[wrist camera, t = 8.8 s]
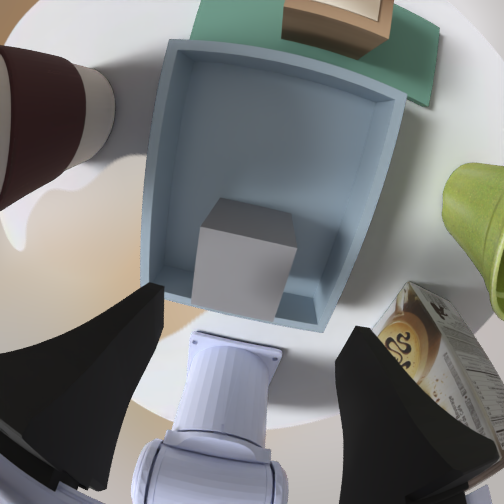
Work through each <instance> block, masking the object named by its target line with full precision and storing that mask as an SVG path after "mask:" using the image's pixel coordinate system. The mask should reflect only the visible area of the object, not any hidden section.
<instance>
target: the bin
mask: <svg viewBox="0 0 504 504" xmlns="http://www.w3.org/2000/svg"><path fill="white" fill-rule="evenodd" d="M406 99H407V94H406V93H404V92H402V91H400V90H397V89H395V88H393V87H391V86H388V85H386V84H384V83H381V82H379V81H376V80H374V79H371V78H369V77H366V76H364V75H361V74H358V73H356V72H353V71H350V70H347V69H344V68H341V67H338V66H335V65H332V64H328V63H325V62H322V61H318V60H315V59H311V58H307V57H303V56H299V55H295V54H291V53H287V52H282V51H277V50H272V49H267V48H261V47H255V46H249V45H242V44H234V43H226V42H216V41H203V40H182V39H169V42H168V46H167V50H166V54H165V58H164V62H163V66H162V71H161V75H160V80H159V85H158V90H157V95H156V100H155V105H154V111H153V117H152V123H151V130H150V137H149V144H148V152H147V160H146V169H145V179H144V191H143V204H142V222H141V251H140V252H141V253H140V255H141V256H140V285H141V287H142V286H144V285H145V284H147V283H149V282H151V283H155V284H158V285H162V286H165V288H164V299H166V300H169V301H173V302H177V303H181V304H185V305H189V306H193V307H197V308H201V309H205V310H209V311H213V312H218V313H222V314H226V315H231V316H235V317H240V318H245V319H249V320H254V321H259V322H264V323H269V324H274V325H280V326H285V327H290V328H296V329H302V330H307V331H313V332H319V333H323V332H324V330H325V328H326V326H327V324H328V322H329V320H330V318H331V315H332V313H333V311H334V309H335V307H336V305H337V303H338V300H339V298H340V296H341V294H342V292H343V289H344V287H345V285H346V283H347V280H348V278H349V276H350V273H351V271H352V268H353V266H354V264H355V261H356V259H357V256H358V254H359V251H360V249H361V246H362V244H363V241H364V239H365V236H366V233H367V231H368V228H369V225H370V222H371V220H372V217H373V214H374V211H375V208H376V206H377V203H378V200H379V197H380V194H381V191H382V188H383V184H384V181H385V178H386V175H387V172H388V168H389V165H390V162H391V158H392V155H393V151H394V148H395V144H396V140H397V136H398V133H399V129H400V125H401V121H402V116H403V112H404V108H405V103H406ZM219 198H225V199H230V200H235V201H239V202H244V203H248V204H253V205H257V206H262V207H266V208H270V209H275V210H279V211H283V212H287V213H291V214H292V220H293V226H294V231H295V237H296V243H297V251H296V254H295V257H294V260H293V264H292V267H291V270H290V273H289V276H288V279H287V282H286V285H285V288H284V291H283V294H282V297H281V300H280V303H279V306H278V309H277V312H276V315H275V318H274V321H273V322H270V321H265V320H260V319H255V318H251V317H246V316H241V315H236V314H232V313H227V312H223V311H219V310H214V309H210V308H206V307H202V306H198V305H194V304H191V297H192V288H193V279H194V271H195V263H196V255H197V247H198V240H199V233H200V226H201V225H202V223H203V222H204V220H205V219H206V217H207V216H208V214H209V213H210V212H211V210H212V209H213V207H214V206H215V204H216V203H217V201H218V200H219Z"/></svg>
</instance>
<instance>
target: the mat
mask: <svg viewBox="0 0 504 504" xmlns="http://www.w3.org/2000/svg"><path fill="white" fill-rule="evenodd" d="M284 3H285V0H201V3H200V6H199V9H198V12H197V15H196V19H195V22H194V25H193V29H192V32H191V36H190V40H203V41H216V42H226V43H234V44H242V45H249V46H255V47H261V48H267V49H272V50H277V51H282V52H287V53H291V54H295V55H299V56H303V57H307V58H311V59H315V60H318V61H322V62H325V63H328V64H332V65H335V66H338V67H341V68H344V69H347V70H350V71H353V72H356V73H358V74H361V75H364V76H366V77H369V78H371V79H374V80H376V81H379V82H381V83H384V84H386V85H388V86H391V87H393V88H395V89H397V90H400V91H402V92H404V93H406V94H407V99H408V100H410V101H412V102H414V103H416V104H418V105H420V106H422V107H428V106H429V101H430V96H431V91H432V85H433V79H434V73H435V66H436V59H437V51H438V42H439V30H440V28H439V27H437V26H436V25H434V24H432V23H431V22H429V21H427V20H425V19H424V18H422V17H420V16H418V15H416V14H414V13H412V12H410V11H408V10H406V9H404V8H402V7H400V6H398V5H396V4H394V5H393V13H392V21H391V28H390V34H389V39H388V40H387V41H385V42H383V43H382V44H380V45H379V46H377V47H376V48H374V49H373V50H371V51H370V52H368V53H367V54H365V55H364V56H362V57H361V58H359V59H358V60H355V59H352V58H349V57H346V56H343V55H340V54H337V53H334V52H330V51H327V50H324V49H320V48H317V47H313V46H309V45H305V44H301V43H297V42H293V41H288V40H283V39H281V32H282V20H283V7H284Z"/></svg>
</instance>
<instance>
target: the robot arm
mask: <svg viewBox="0 0 504 504" xmlns="http://www.w3.org/2000/svg"><path fill="white" fill-rule="evenodd" d="M164 288H165V286H162V285H158V284H155V283H151V282H149V283H147V284H145V285H144V286H142V287H141V288H139V289H138V290H136V291H135V292H133V293H132V294H131V295H129V296H128V297H126V298H125V299H123V300H122V301H120V302H119V303H117V304H116V305H114V306H113V307H111V308H109V309H108V310H107V311H105V312H103V313H101V314H100V315H98V316H96V317H95V318H93V319H91V320H90V321H88V322H86V323H84V324H82V325H81V326H79V327H77V328H75V329H73V330H71V331H68V332H66V333H64V334H62V335H60V336H57V337H55V338H52V339H49V340H47V341H44V342H41V343H39V344H36V345H33V346H30V347H26V348H23V349H19V350H15V351H11V352H6V353H1V354H0V504H105V503H102V502H100V501H98V500H96V499H93V498H91V497H89V496H87V495H85V494H83V493H81V492H79V491H77V489H78V486H79V487H81V488H83V489H85V490H88V488H91V489H93V490H95V491H102V490H105V489H107V482H108V478H109V473H110V468H111V463H112V459H113V455H114V450H115V447H116V443H117V439H118V436H119V432H120V429H121V426H122V423H123V420H124V417H125V414H126V411H127V408H128V405H129V402H130V400H131V398H132V395H133V393H134V391H135V389H136V387H137V385H138V383H139V381H140V379H141V377H142V375H143V373H144V371H145V369H146V367H147V365H148V363H149V361H150V359H151V357H152V355H153V353H154V351H155V349H156V347H157V344H158V341H159V338H160V336H161V333H162V330H163V327H164ZM194 340H196V341H194ZM274 357H276V358H274ZM281 358H282V351H281V350H280V349H276V348H270V347H265V346H259V345H254V344H249V343H244V342H239V341H235V340H230V339H226V338H221V337H217V336H212V335H208V334H204V333H200V332H192V333H191V335H190V343H189V354H188V367H187V380H186V384H185V387H184V390H183V394H182V397H181V400H180V403H179V407H178V410H177V414H176V417H175V420H174V424H173V427H172V430H167V431H166V435H165V438H164V441H163V440H161V439H158V438H156V439H154V440H152V441H151V442H149V443H147V444H146V445H145V446H144V448H143V449H142V451H141V453H140V456H139V458H138V461H137V464H136V467H135V470H134V474H133V479H132V486H131V498H132V500H133V504H287V502H288V479H287V475H286V472H285V470H284V469H283V468H282V467H281V465H280V464H279V462H277V461H271V450H270V449H265V437H266V420H267V401H268V386H269V384H270V382H271V380H272V378H273V375H274V373H275V371H276V369H277V367H278V364H279V362H280V360H281ZM335 379H336V389H337V396H338V403H339V409H340V416H341V422H342V429H343V440H344V441H343V442H344V443H343V444H344V447H343V448H344V450H343V456H344V457H343V476H342V485H341V493H340V500H339V504H492V500H491V496H490V492H489V487H488V485H485V486H483V487H481V488H479V489H477V490H476V491H474V492H471V493H470V494H468V495H466V496H465V492H464V491H465V490H467V489H468V488H469V484H468V481H470V480H471V479H473V478H474V477H476V476H478V475H479V474H481V473H482V472H484V471H485V470H487V469H488V468H489V467H491V466H492V465H493V464H495V463H496V462H497V461H498V460H499V457H500V456H499V453H498V450H497V447H496V445H495V442H494V441H493V440H491V439H489V438H487V437H485V436H483V435H481V434H479V433H477V432H476V431H474V430H472V429H471V428H469V427H467V426H466V425H464V424H463V423H461V422H460V421H459V420H457V419H456V418H454V417H453V416H452V415H450V414H449V413H448V412H447V411H445V410H444V409H443V408H442V407H441V406H439V405H438V404H437V403H436V402H435V401H434V400H433V399H432V398H431V397H430V396H429V395H428V394H427V393H425V392H424V390H423V389H422V388H421V387H420V386H419V385H418V384H417V383H416V382H415V381H414V380H413V379H412V378H411V376H410V375H409V374H408V373H407V372H406V371H405V370H404V368H403V367H402V366H401V365H400V364H399V362H398V361H397V360H396V359H395V358H394V356H393V355H392V354H391V353H390V351H389V350H388V349H387V348H386V347H385V345H384V344H383V343H382V342H381V341H380V339H379V338H378V337H377V336H376V335H375V334H374V332H373V331H372V330H371V329H370V328H367V327H360V326H355V328H354V330H353V331H352V333H351V335H350V337H349V338H348V340H347V342H346V344H345V345H344V347H343V349H342V351H341V352H340V354H339V356H338V357H337V359H336V360H335Z"/></svg>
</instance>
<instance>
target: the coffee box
mask: <svg viewBox="0 0 504 504" xmlns="http://www.w3.org/2000/svg"><path fill="white" fill-rule="evenodd" d="M372 331H373V332H374V334H375V335H376V336H377V337H378V338H379V339H380V341H381V342H382V343H383V344H384V345H385V347H386V348H387V349H388V350H389V351H390V353H391V354H392V355H393V356H394V358H395V359H396V360H397V361H398V362H399V364H400V365H401V366H402V367H403V368H404V370H405V371H406V372H407V373H408V374H409V375H410V376H411V378H412V379H413V380H414V381H415V382H416V383H417V384H418V385H419V386H420V387H421V388H422V389H423V390H424V392H425V393H427V394H428V395H429V396H430V397H431V398H432V399H433V400H434V401H435V402H436V403H437V404H438V405H439V406H441V407H442V408H443V409H444V410H445V411H447V412H448V413H449V414H450V415H452V416H453V417H454V418H456V419H457V420H459V421H460V422H461V423H463V424H464V425H466V426H467V427H469V428H471V429H472V430H474V431H476V432H477V433H479V434H481V435H483V436H485V437H487V438H489V439H491V440H493V441H494V442H495V445H496V447H497V450H498V453H499V456H500V457H499V460H498V461H497V462H496V463H495V464H493V465H492V466H491V467H489V468H488V469H487V470H485V471H484V472H482V473H481V474H479V475H478V476H476V477H474V478H473V479H471V480H470V481H468V484H469V488H468V489H467V490H465V491H464V492H466V491H468V490H470V489H472V488H473V487H475V486H477V485H478V484H480V483H482V482H483V481H485V480H486V479H488V478H489V477H491V476H493V475H494V474H496V473H497V472H498V471H500V470H501V469H502V468H504V384H503V382H502V380H501V378H500V377H499V375H498V373H497V371H496V370H495V368H494V367H493V365H492V363H491V361H490V360H489V358H488V356H487V355H486V353H485V352H484V350H483V348H482V347H481V345H480V344H479V342H478V341H477V339H476V338H475V337H474V335H473V334H472V332H471V331H470V329H469V328H468V326H467V325H466V323H465V322H464V321H463V319H462V318H461V316H460V315H459V314H458V312H457V311H456V309H455V308H454V307H453V305H452V304H451V303H450V302H449V301H447V300H445V299H444V298H442V297H440V296H438V295H436V294H434V293H432V292H430V291H428V290H426V289H424V288H422V287H420V286H418V285H416V284H414V283H412V282H407V283H406V284H405V285H404V287H403V288H402V290H401V291H400V293H399V294H398V295H397V297H396V298H395V300H394V301H393V302H392V304H391V305H390V307H389V308H388V309H387V311H386V312H385V313H384V315H383V316H382V317H381V319H380V320H379V321H378V323H377V324H376V325H375V327H374V328H373V329H372Z"/></svg>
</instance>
